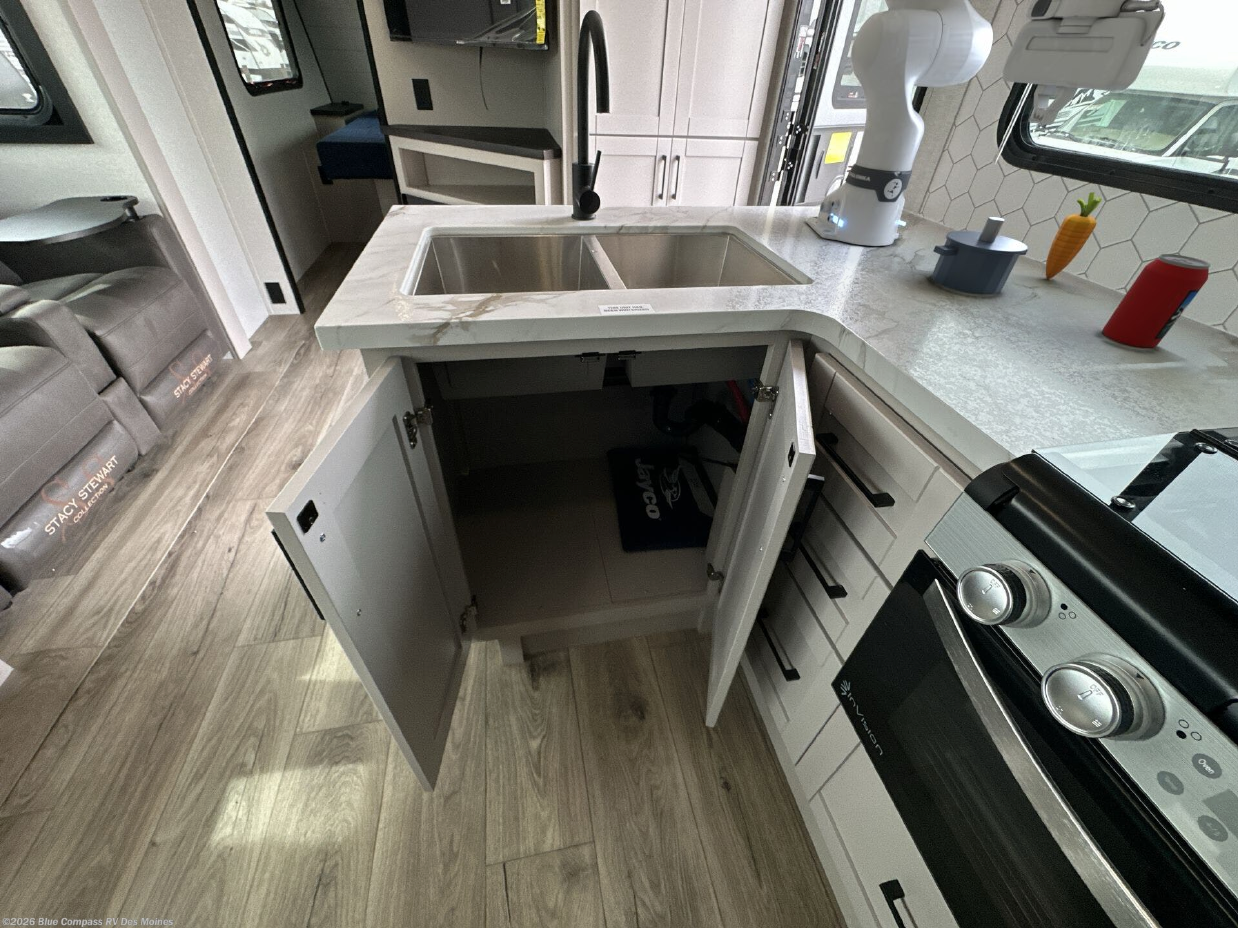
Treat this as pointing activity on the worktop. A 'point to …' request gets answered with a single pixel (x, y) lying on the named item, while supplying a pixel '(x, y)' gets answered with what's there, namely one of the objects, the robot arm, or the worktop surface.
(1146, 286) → the beverage can
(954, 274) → the pot
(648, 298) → the worktop surface
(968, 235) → the lid
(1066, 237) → the carrot
